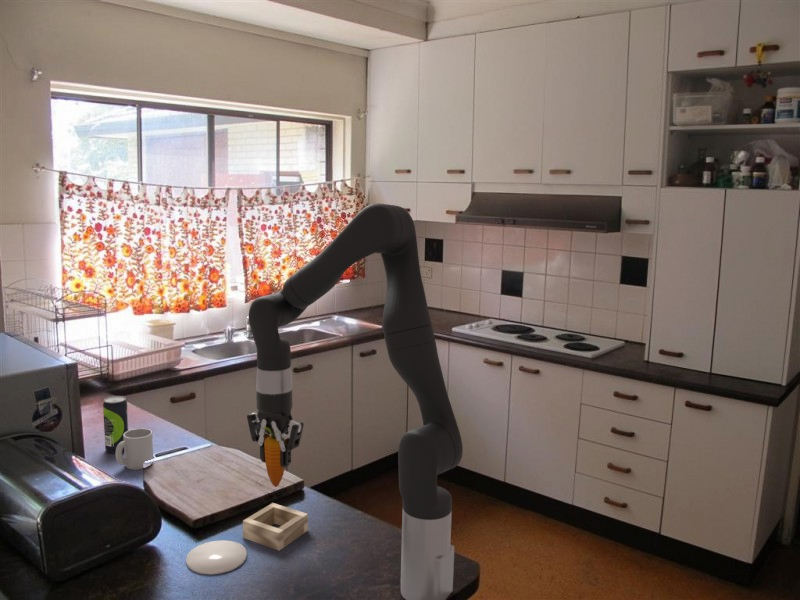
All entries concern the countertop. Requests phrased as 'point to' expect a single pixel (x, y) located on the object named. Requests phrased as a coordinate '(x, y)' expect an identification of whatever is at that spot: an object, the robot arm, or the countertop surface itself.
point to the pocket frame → (276, 538)
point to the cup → (135, 448)
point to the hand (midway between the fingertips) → (275, 463)
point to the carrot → (273, 458)
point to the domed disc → (216, 557)
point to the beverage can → (115, 421)
